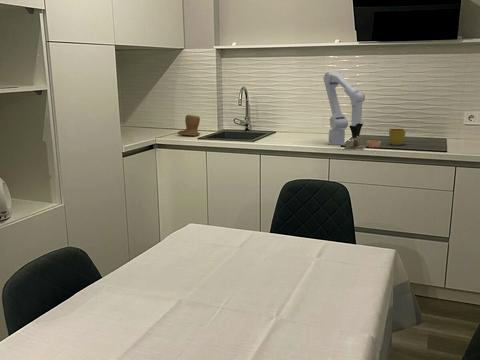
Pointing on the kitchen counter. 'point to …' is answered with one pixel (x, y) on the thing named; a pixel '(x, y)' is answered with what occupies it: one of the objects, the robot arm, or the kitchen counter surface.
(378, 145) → the bowl
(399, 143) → the flower pot
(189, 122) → the brown hat
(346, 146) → the mat
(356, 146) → the lid
